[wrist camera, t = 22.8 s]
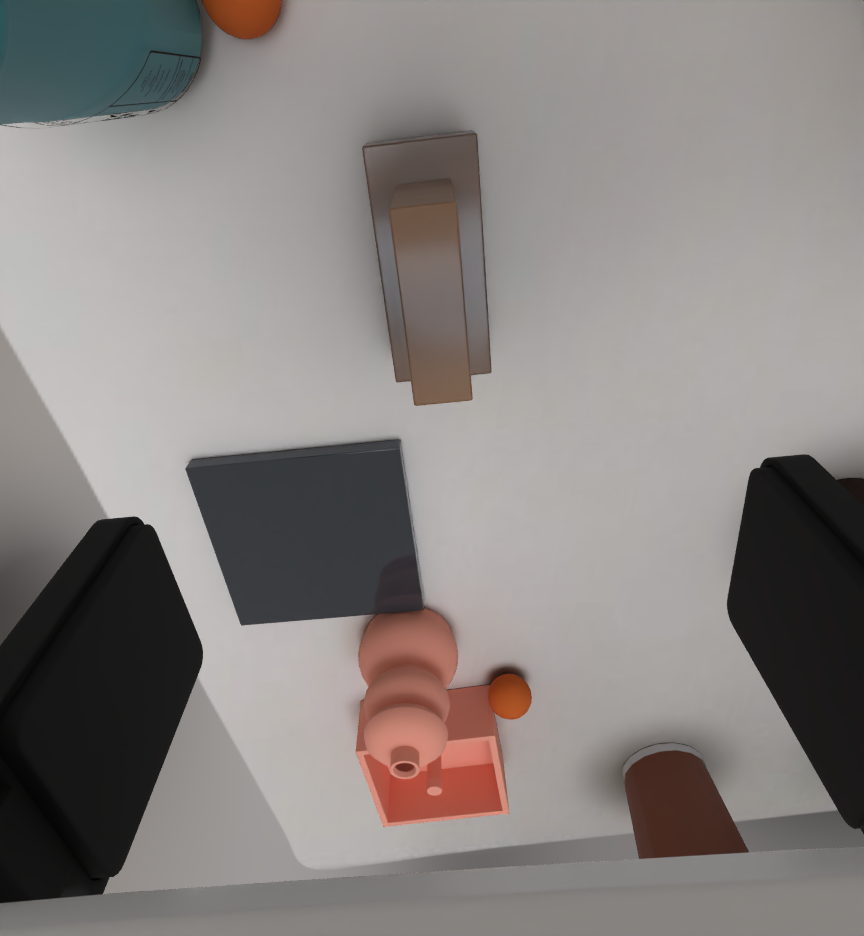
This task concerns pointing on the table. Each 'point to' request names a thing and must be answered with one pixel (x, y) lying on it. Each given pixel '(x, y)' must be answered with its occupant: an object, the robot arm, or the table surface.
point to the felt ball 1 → (243, 16)
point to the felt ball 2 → (509, 696)
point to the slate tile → (312, 531)
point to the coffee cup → (677, 805)
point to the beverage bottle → (94, 57)
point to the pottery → (425, 726)
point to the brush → (431, 260)
